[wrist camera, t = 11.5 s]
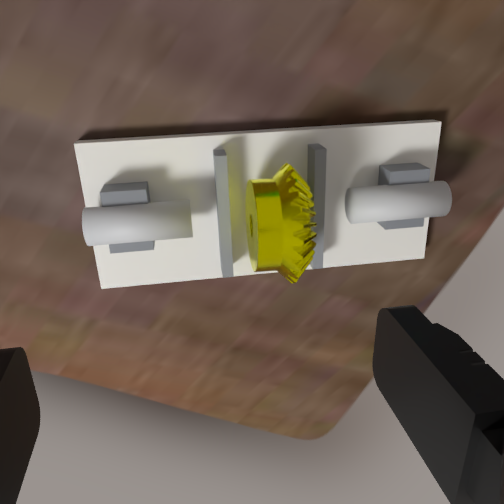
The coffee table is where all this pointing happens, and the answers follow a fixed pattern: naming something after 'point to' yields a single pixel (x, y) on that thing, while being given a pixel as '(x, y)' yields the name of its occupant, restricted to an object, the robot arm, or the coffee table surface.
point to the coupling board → (234, 194)
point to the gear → (280, 223)
